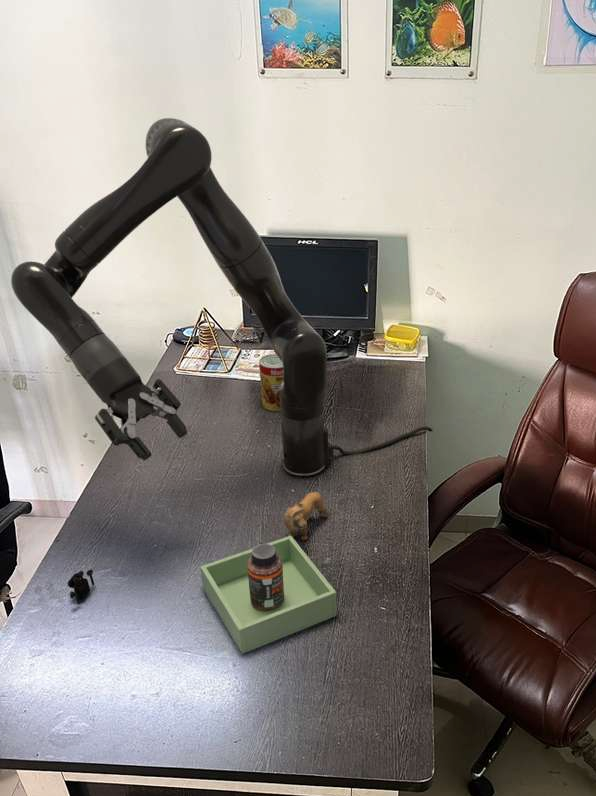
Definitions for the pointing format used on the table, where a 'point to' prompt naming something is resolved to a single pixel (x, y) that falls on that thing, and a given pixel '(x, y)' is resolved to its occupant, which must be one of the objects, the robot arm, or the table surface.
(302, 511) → the lion figurine
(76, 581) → the black animal figurine
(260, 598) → the supplement bottle
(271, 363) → the canned food
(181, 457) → the table surface
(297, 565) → the desk bin
